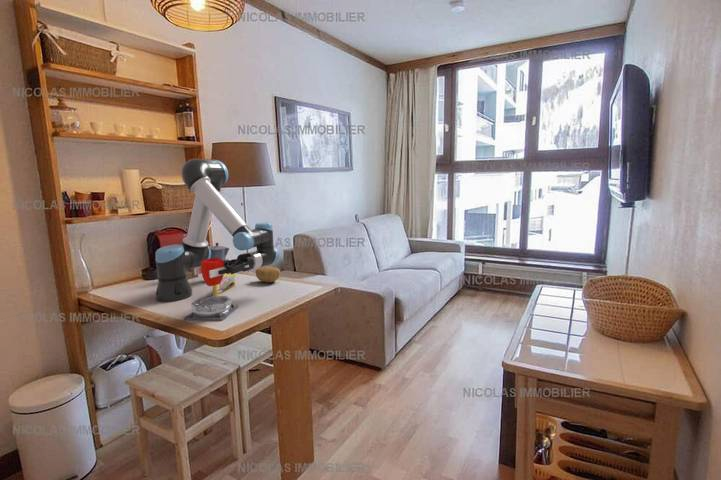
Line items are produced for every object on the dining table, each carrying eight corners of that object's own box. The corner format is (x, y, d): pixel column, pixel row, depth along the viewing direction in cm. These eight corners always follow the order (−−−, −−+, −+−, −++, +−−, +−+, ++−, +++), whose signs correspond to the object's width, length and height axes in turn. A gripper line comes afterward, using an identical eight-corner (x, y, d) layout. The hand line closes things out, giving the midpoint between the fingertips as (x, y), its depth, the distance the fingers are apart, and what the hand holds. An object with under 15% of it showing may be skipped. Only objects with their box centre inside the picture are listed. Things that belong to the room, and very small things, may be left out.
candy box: (216, 296, 171) (215, 279, 170) (212, 296, 172) (211, 279, 170) (235, 286, 187) (234, 270, 185) (232, 286, 187) (230, 270, 186)
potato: (263, 278, 201) (262, 264, 199) (285, 280, 195) (284, 266, 193) (251, 283, 192) (250, 268, 191) (273, 285, 186) (272, 270, 185)
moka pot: (231, 280, 198) (228, 243, 195) (200, 282, 195) (196, 245, 192) (233, 276, 207) (230, 240, 204) (203, 278, 204) (200, 242, 201)
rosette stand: (184, 320, 142) (183, 307, 141) (204, 306, 157) (203, 295, 156) (222, 320, 141) (221, 307, 140) (238, 307, 156) (237, 295, 155)
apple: (222, 287, 143) (220, 260, 141) (199, 288, 142) (196, 261, 141) (228, 281, 152) (226, 255, 150) (206, 282, 151) (204, 256, 149)
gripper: (266, 272, 156) (221, 286, 137) (233, 267, 167) (186, 278, 149) (265, 255, 155) (219, 266, 136) (232, 250, 166) (184, 260, 147)
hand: (202, 272), depth 142 cm, fingers closed on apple, 9 cm apart
